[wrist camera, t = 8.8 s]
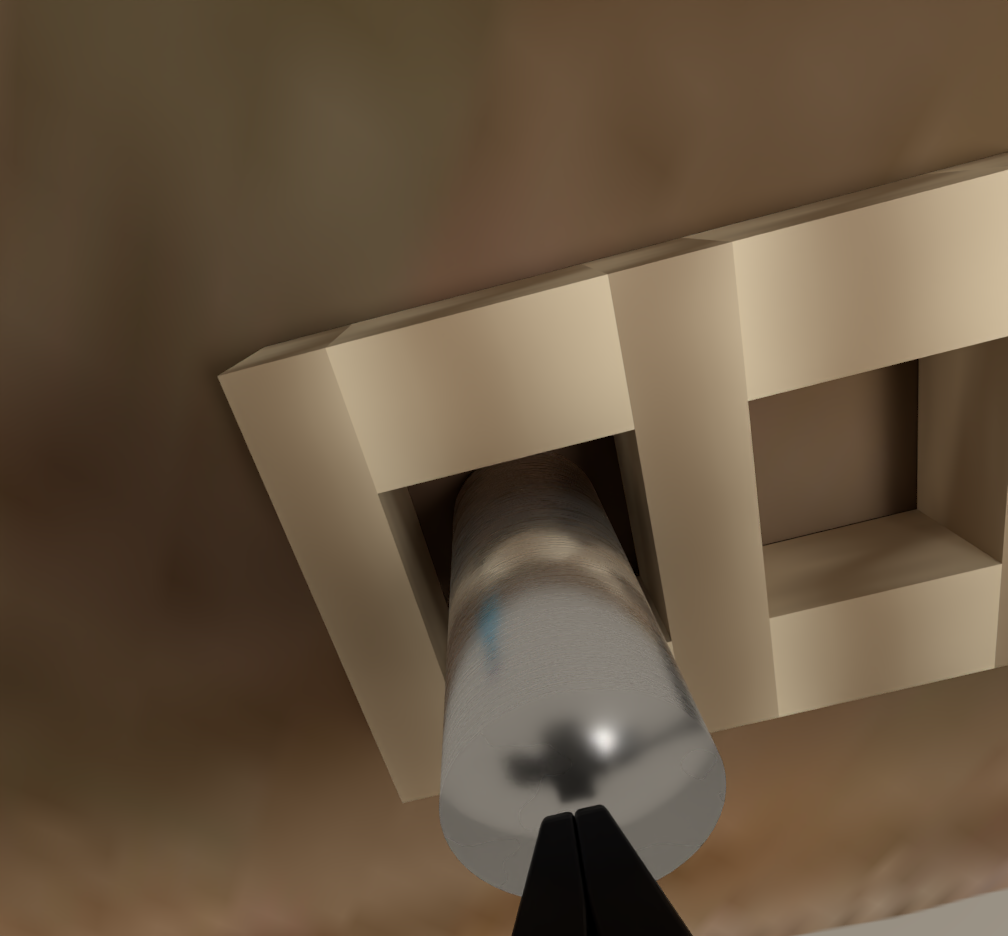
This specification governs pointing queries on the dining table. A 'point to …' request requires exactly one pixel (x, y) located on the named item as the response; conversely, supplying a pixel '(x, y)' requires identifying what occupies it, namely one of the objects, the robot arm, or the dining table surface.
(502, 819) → the grey cylinder
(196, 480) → the dining table surface
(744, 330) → the frame
